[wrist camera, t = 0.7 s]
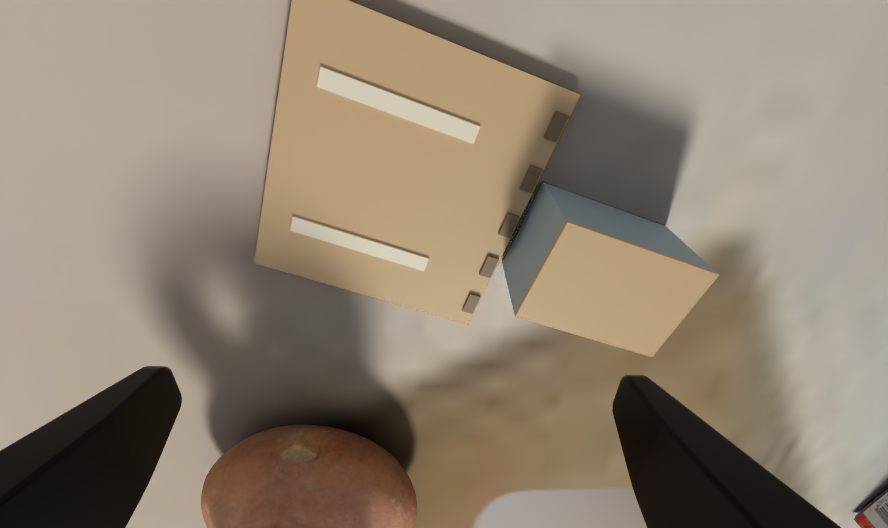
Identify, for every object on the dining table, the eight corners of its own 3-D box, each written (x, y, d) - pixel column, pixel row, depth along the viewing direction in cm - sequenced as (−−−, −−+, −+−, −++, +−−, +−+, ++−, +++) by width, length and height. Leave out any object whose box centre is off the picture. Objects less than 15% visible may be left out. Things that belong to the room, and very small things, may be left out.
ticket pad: (576, 92, 18) (581, 95, 17) (467, 318, 24) (468, 326, 23) (299, -20, 16) (293, -23, 15) (258, 257, 22) (252, 264, 21)
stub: (665, 226, 21) (719, 274, 17) (615, 299, 23) (652, 357, 19) (542, 181, 20) (567, 222, 16) (502, 263, 22) (515, 316, 18)
